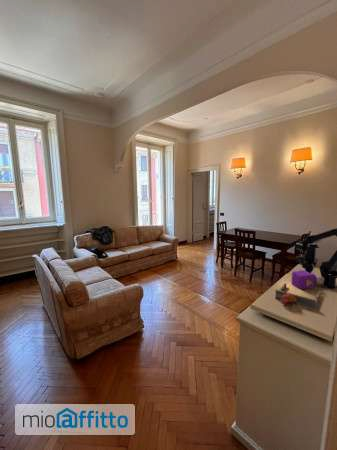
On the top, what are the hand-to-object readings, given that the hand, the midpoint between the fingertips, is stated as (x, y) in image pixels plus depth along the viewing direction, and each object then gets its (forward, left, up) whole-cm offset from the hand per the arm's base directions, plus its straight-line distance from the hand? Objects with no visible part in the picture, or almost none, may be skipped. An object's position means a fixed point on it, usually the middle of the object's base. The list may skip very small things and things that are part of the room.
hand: (309, 274), depth 145 cm
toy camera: (+14, +7, -3) cm, 16 cm away
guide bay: (+31, +16, -3) cm, 35 cm away
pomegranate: (+43, +21, -3) cm, 48 cm away
